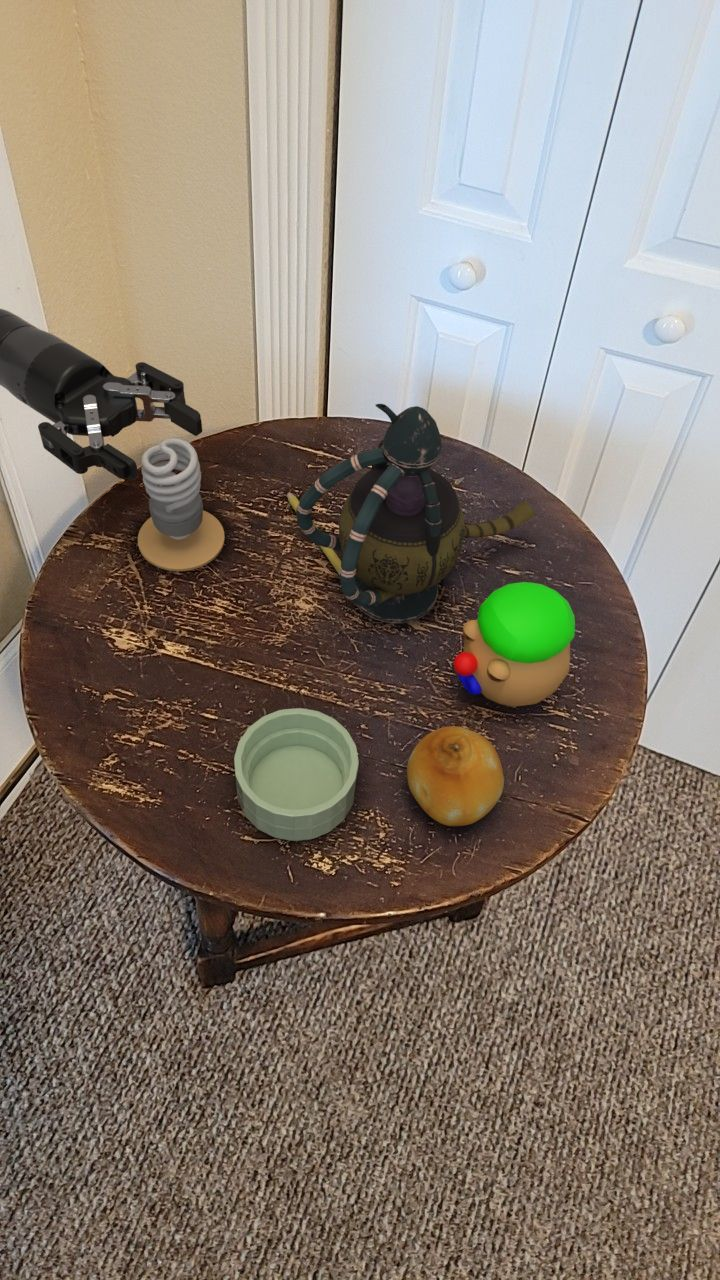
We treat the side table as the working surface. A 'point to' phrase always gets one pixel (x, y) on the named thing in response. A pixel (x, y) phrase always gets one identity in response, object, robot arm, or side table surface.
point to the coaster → (182, 545)
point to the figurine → (517, 645)
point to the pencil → (328, 552)
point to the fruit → (455, 775)
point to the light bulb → (173, 487)
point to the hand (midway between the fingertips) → (168, 449)
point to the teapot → (398, 521)
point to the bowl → (296, 773)
